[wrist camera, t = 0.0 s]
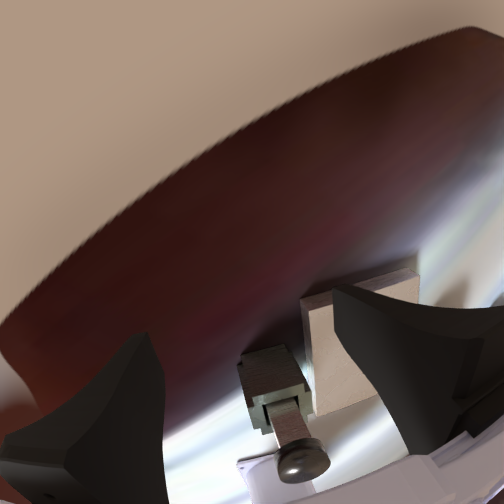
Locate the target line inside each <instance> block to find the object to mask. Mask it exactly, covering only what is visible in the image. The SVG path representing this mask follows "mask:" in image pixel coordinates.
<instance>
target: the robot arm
mask: <svg viewBox="0 0 504 504" xmlns="http://www.w3.org/2000/svg"><path fill="white" fill-rule="evenodd" d="M332 300H333V318H334V332H335V333H336V335H337V337H338V339H339V341H340V343H341V344H342V346H343V348H344V349H345V351H346V352H347V353H348V355H349V356H350V357H351V359H352V360H353V361H354V362H355V364H356V365H357V366H358V367H359V369H360V370H361V371H362V373H363V374H364V375H365V376H366V378H367V379H368V380H369V381H370V383H371V384H372V385H373V387H374V388H375V390H376V391H377V392H378V394H379V396H380V397H381V399H382V401H383V402H384V404H385V406H386V407H387V409H388V411H389V413H390V415H391V417H392V418H393V420H394V422H395V424H396V426H397V428H398V430H399V432H400V434H401V436H402V438H403V440H404V442H405V444H406V446H407V449H408V451H409V453H410V456H408V457H406V458H403V459H400V460H398V461H395V462H393V463H390V464H388V465H386V466H384V467H382V468H380V469H378V470H376V471H373V472H371V473H369V474H367V475H364V476H362V477H360V478H357V479H355V480H352V481H350V482H347V483H345V484H342V485H339V486H337V487H334V488H331V489H328V490H325V491H322V492H319V493H316V491H315V488H314V486H313V483H312V481H311V480H310V481H307V482H303V483H298V484H286V483H283V482H282V481H281V480H280V478H279V475H278V472H277V469H276V466H275V463H274V460H273V457H274V454H271V455H267V456H263V457H259V458H255V459H251V460H246V461H241V462H238V463H237V464H236V465H237V468H238V470H239V472H240V474H241V477H242V479H243V481H244V483H245V485H246V487H247V489H248V491H249V493H250V497H251V501H252V504H485V503H487V502H488V501H489V500H490V499H491V498H493V497H494V496H495V495H496V494H497V493H498V492H499V491H500V490H502V488H504V306H497V307H489V308H474V309H457V308H442V307H433V306H427V305H421V304H416V303H411V302H407V301H403V300H399V299H395V298H392V297H388V296H385V295H382V294H379V293H376V292H372V291H369V290H366V289H363V288H360V287H357V286H353V285H349V284H343V285H340V286H336V287H333V288H332ZM165 395H166V394H165V377H164V371H163V369H162V367H161V364H160V362H159V360H158V357H157V355H156V353H155V350H154V348H153V345H152V343H151V340H150V338H149V335H148V333H147V332H144V333H139V334H134V335H132V336H131V337H130V338H129V339H128V340H127V341H126V342H125V343H124V344H123V345H122V347H121V348H120V349H119V350H118V351H117V353H116V354H115V355H114V356H113V357H112V358H111V360H110V361H109V362H108V363H107V364H106V365H105V366H104V367H103V368H102V370H101V371H100V372H99V373H98V374H97V375H96V376H95V377H94V378H93V379H92V380H91V381H90V382H89V383H88V384H87V385H86V386H85V387H84V388H83V389H82V390H81V391H79V392H78V393H77V394H76V395H75V396H74V397H72V398H71V399H70V400H68V401H67V402H66V403H64V404H63V405H61V406H60V407H59V408H57V409H56V410H55V411H53V412H51V413H50V414H48V415H47V416H45V417H43V418H42V419H40V420H38V421H36V422H34V423H32V424H30V425H28V426H26V427H24V428H22V429H19V430H17V431H15V432H12V433H10V434H7V435H6V436H5V438H4V440H3V443H2V445H1V448H0V475H1V476H2V477H3V478H4V479H5V480H6V481H7V482H8V483H9V484H10V485H11V486H12V487H13V488H14V489H16V490H17V491H18V492H19V493H20V494H21V495H23V496H24V497H25V498H26V499H28V500H29V501H30V502H31V503H32V504H169V500H168V494H167V488H166V481H165V473H164V463H163V451H162V440H163V424H164V410H165ZM0 504H14V503H10V502H7V501H4V500H0Z"/></svg>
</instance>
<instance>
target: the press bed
mask: <svg viewBox="0 0 504 504" xmlns="http://www.w3.org/2000/svg"><path fill="white" fill-rule="evenodd" d="M419 282H420V275H418V274H416V273H415V272H413V271H411V270H410V269H408V268H402V269H399V270H396V271H393V272H390V273H387V274H384V275H381V276H377V277H374V278H371V279H368V280H364V281H361V282H358V283H354V284H351V285H353V286H357V287H360V288H363V289H366V290H369V291H372V292H376V293H379V294H382V295H385V296H388V297H392V298H395V299H399V300H403V301H407V302H411V303H416V304H418V295H419ZM300 307H301V315H302V324H303V334H304V343H305V353H306V363H307V373H308V383H307V381H306V379H305V377H304V375H303V373H302V371H301V369H300V367H299V365H298V364H297V362H296V360H295V358H294V356H293V354H292V352H288V351H287V349H286V347H285V345H284V344H281V345H277V346H274V347H270V348H266V349H262V350H258V351H254V352H250V353H246V354H242V355H241V359H242V363H243V364H241V365H237V368H238V372H239V376H240V381H241V385H242V389H243V393H244V396H245V400H246V404H247V408H248V412H249V415H250V418H251V422H252V425H253V428H254V429H258V428H261V432H262V435H265V434H269V433H273V429H272V426H271V423H270V420H269V417H268V414H267V411H266V408H265V405H264V404H267V403H271V402H275V401H278V400H282V399H286V398H289V397H292V396H293V397H294V399H295V402H296V404H297V406H298V408H299V411H300V413H301V415H302V417H303V420H304V422H305V423H307V422H308V421H307V415H308V414H311V413H313V410H314V412H315V414H316V416H317V417H319V416H322V415H325V414H328V413H331V412H333V411H336V410H339V409H342V408H344V407H347V406H350V405H352V404H355V403H357V402H360V401H362V400H365V399H367V398H370V397H372V396H374V395H377V394H378V392H377V391H376V390H375V388H374V387H373V385H372V384H371V383H370V381H369V380H368V379H367V378H366V376H365V375H364V374H363V373H362V371H361V370H360V369H359V367H358V366H357V365H356V364H355V362H354V361H353V360H352V359H351V357H350V356H349V355H348V353H347V352H346V351H345V349H344V348H343V346H342V344H341V343H340V341H339V339H338V337H337V335H336V333H335V332H334V318H333V300H332V290H330V291H327V292H323V293H320V294H316V295H313V296H309V297H305V298H302V299H300ZM308 384H309V385H308Z"/></svg>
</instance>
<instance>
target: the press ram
mask: <svg viewBox="0 0 504 504" xmlns="http://www.w3.org/2000/svg"><path fill="white" fill-rule="evenodd" d="M264 405H265V408H266V411H267V414H268V417H269V420H270V423H271V426H272V429H273V432H274V435H275V438H276V441H277V444H278V447H279V449H278V450H277V451H276V453H275V454H274V457H273V460H274V463H275V466H276V469H277V472H278V475H279V478H280V480H281V481H282V482H283V483H286V484H298V483H303V482H307V481H310V480H312V479H314V478H316V477H318V476H320V475H322V474H323V473H324V472H325V471H326V470H327V469H328V468H329V467H330V464H331V462H330V460H329V458H328V455H327V453H326V451H325V449H324V447H323V445H322V443H321V441H320V440H318V439H315V438H311V435H310V433H309V431H308V429H307V426H306V424H305V422H304V420H303V417H302V415H301V413H300V411H299V408H298V406H297V404H296V402H295V399H294V397H293V396H292V397H289V398H286V399H282V400H278V401H275V402H271V403H267V404H264Z"/></svg>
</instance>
